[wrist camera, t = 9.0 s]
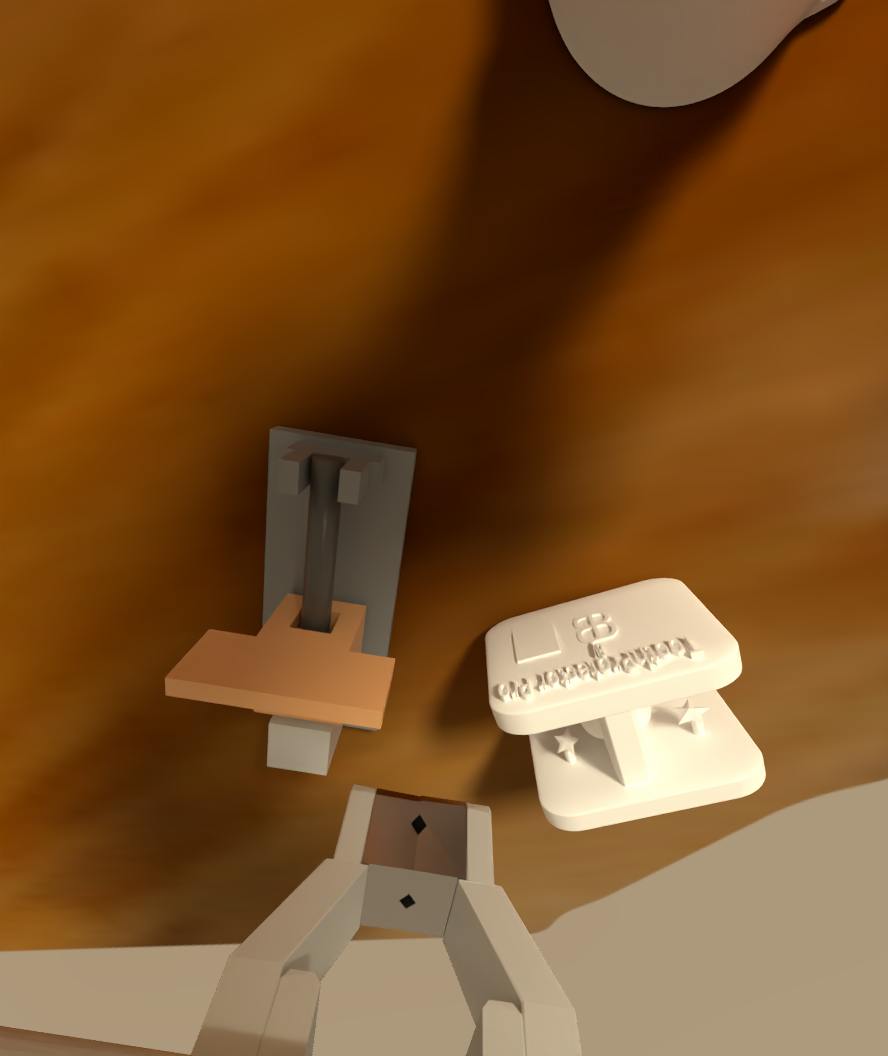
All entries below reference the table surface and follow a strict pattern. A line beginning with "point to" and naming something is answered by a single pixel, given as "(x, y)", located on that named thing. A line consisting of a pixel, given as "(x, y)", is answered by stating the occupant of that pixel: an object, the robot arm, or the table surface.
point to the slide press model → (332, 554)
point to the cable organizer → (623, 704)
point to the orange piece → (290, 669)
